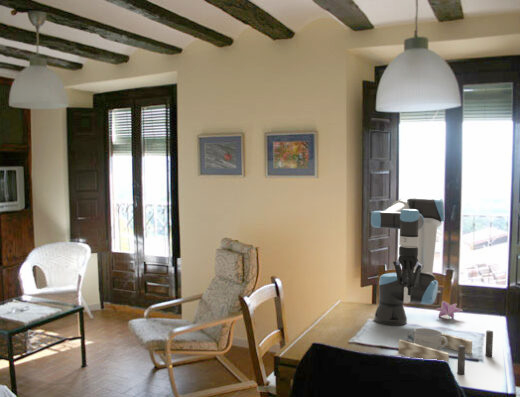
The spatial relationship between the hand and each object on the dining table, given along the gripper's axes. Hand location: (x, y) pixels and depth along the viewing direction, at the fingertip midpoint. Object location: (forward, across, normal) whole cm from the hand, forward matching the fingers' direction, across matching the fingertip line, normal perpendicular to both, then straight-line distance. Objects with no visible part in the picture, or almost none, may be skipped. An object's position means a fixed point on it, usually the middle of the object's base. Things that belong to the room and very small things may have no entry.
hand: (406, 302), depth 203 cm
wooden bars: (+18, +17, 0) cm, 24 cm away
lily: (+18, -4, +49) cm, 52 cm away
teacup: (+18, +11, 0) cm, 21 cm away
